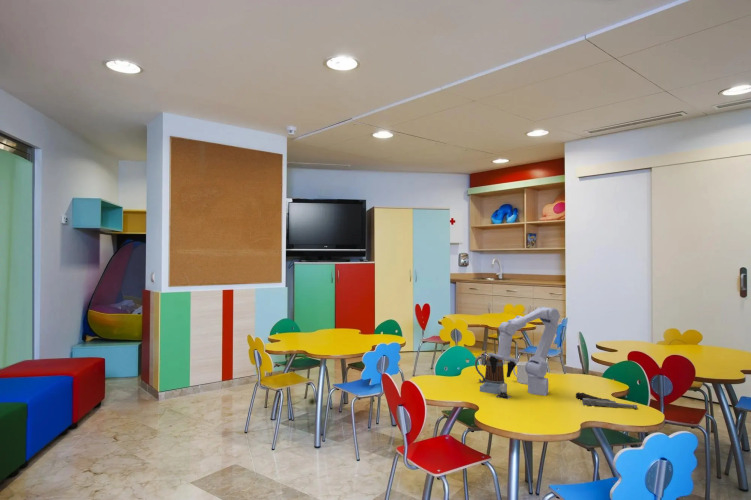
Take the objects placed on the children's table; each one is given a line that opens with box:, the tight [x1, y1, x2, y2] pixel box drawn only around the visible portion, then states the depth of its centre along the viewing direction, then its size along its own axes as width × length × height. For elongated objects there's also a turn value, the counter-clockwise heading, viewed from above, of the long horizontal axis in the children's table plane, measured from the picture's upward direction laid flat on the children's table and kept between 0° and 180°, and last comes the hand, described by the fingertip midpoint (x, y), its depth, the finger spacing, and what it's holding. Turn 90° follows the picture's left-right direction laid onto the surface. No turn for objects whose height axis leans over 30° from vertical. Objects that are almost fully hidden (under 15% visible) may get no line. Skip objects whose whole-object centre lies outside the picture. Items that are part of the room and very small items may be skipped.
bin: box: [479, 382, 500, 395], centre depth 229 cm, size 9×9×4 cm
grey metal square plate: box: [495, 394, 512, 400], centre depth 219 cm, size 6×6×1 cm
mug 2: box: [512, 361, 528, 386], centre depth 252 cm, size 13×10×10 cm
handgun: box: [575, 391, 638, 409], centre depth 215 cm, size 3×24×15 cm
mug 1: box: [474, 355, 505, 385], centre depth 245 cm, size 16×11×15 cm
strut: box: [498, 383, 509, 399], centre depth 219 cm, size 4×4×6 cm
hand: (500, 375), depth 221 cm, fingers open, 7 cm apart
